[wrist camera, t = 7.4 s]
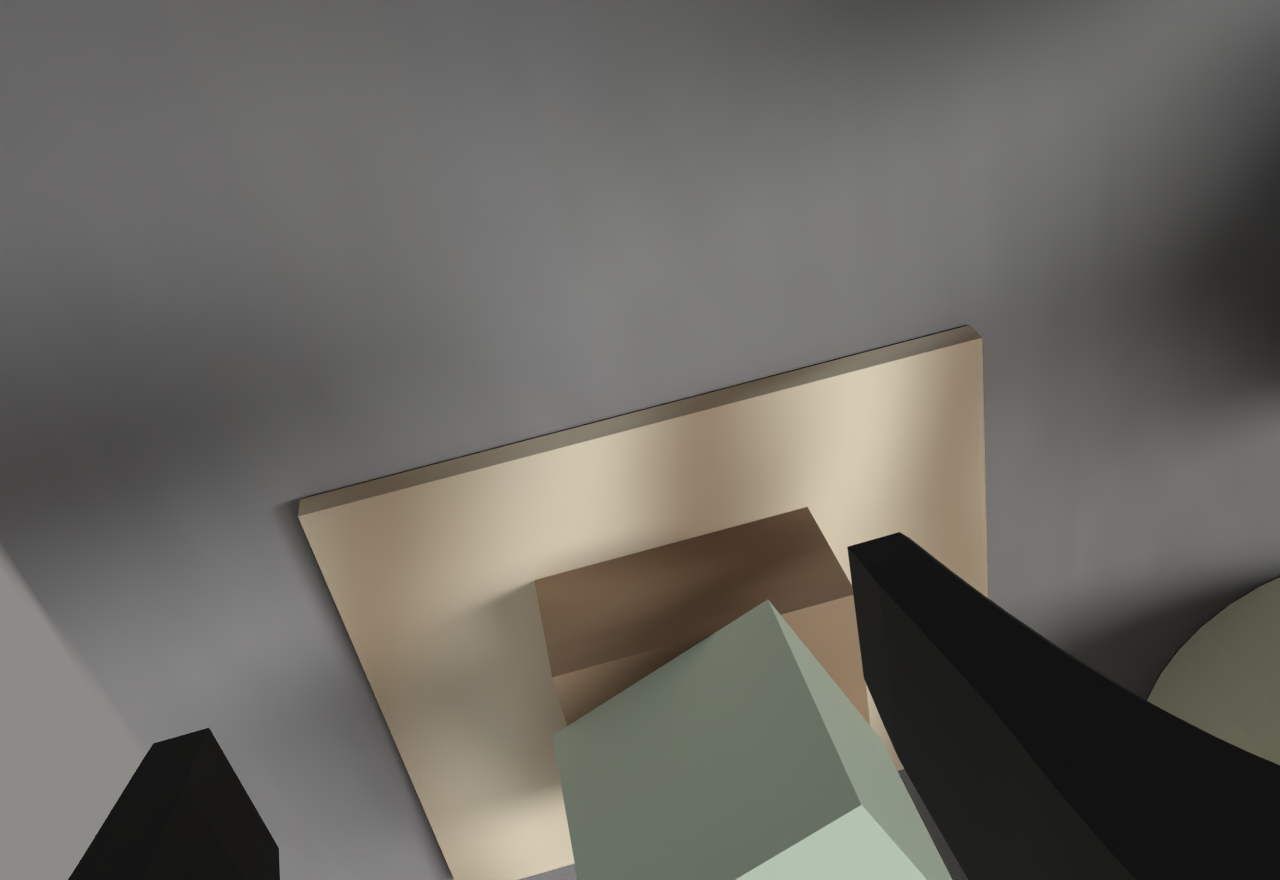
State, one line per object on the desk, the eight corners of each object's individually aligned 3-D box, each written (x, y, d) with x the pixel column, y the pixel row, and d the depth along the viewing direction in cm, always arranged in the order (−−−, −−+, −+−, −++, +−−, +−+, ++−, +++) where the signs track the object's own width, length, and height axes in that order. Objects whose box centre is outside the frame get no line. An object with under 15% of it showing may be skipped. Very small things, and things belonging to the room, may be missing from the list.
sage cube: (768, 599, 22) (861, 804, 17) (881, 739, 24) (986, 947, 20) (552, 735, 22) (592, 964, 18) (685, 857, 25) (746, 1082, 21)
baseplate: (969, 325, 24) (1056, 409, 21) (980, 727, 30) (1048, 836, 27) (299, 499, 23) (287, 614, 20) (460, 876, 29) (469, 1006, 26)
